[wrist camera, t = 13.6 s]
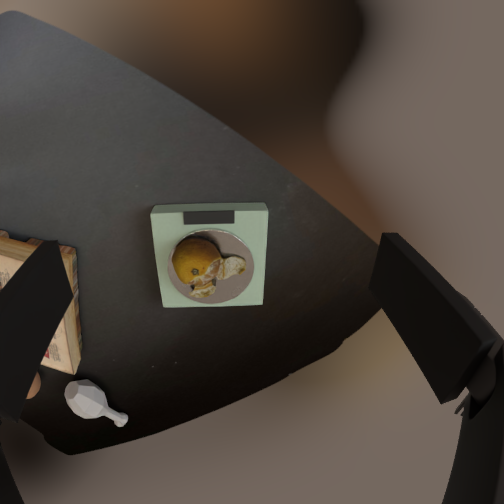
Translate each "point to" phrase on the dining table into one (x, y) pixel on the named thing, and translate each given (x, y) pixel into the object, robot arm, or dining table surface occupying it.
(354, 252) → the dining table surface
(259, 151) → the dining table surface
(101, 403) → the chicken leg
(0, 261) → the book
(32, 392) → the egg
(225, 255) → the scale pan
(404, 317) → the robot arm
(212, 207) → the scale
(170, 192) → the dining table surface
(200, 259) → the fruit
